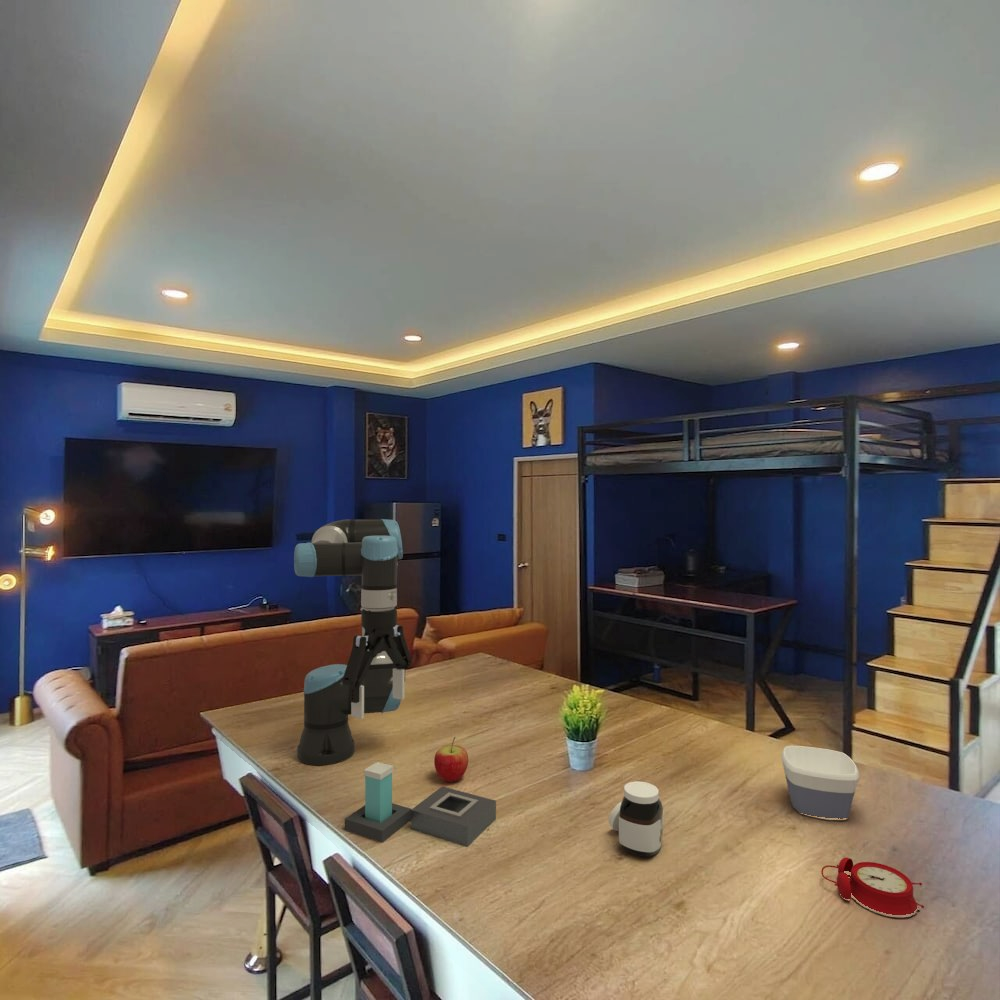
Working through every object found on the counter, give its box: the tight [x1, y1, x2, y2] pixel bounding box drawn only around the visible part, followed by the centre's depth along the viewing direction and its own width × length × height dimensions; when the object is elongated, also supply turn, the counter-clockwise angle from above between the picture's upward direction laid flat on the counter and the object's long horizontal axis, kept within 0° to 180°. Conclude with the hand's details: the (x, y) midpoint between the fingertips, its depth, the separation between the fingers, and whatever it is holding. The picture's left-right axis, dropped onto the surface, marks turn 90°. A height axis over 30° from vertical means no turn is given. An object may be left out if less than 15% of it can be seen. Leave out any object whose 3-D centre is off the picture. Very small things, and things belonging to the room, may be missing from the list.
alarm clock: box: [820, 857, 925, 915], centre depth 108 cm, size 10×6×15 cm
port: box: [410, 786, 497, 847], centre depth 131 cm, size 14×12×4 cm
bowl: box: [781, 745, 860, 819], centre depth 139 cm, size 15×15×11 cm
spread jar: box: [608, 780, 664, 858], centre depth 125 cm, size 12×11×12 cm
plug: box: [363, 761, 394, 823], centre depth 131 cm, size 4×4×12 cm
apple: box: [433, 736, 469, 783], centre depth 152 cm, size 8×8×10 cm
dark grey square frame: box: [344, 802, 412, 843], centre depth 131 cm, size 10×10×2 cm
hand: (379, 707), depth 131 cm, fingers open, 13 cm apart
